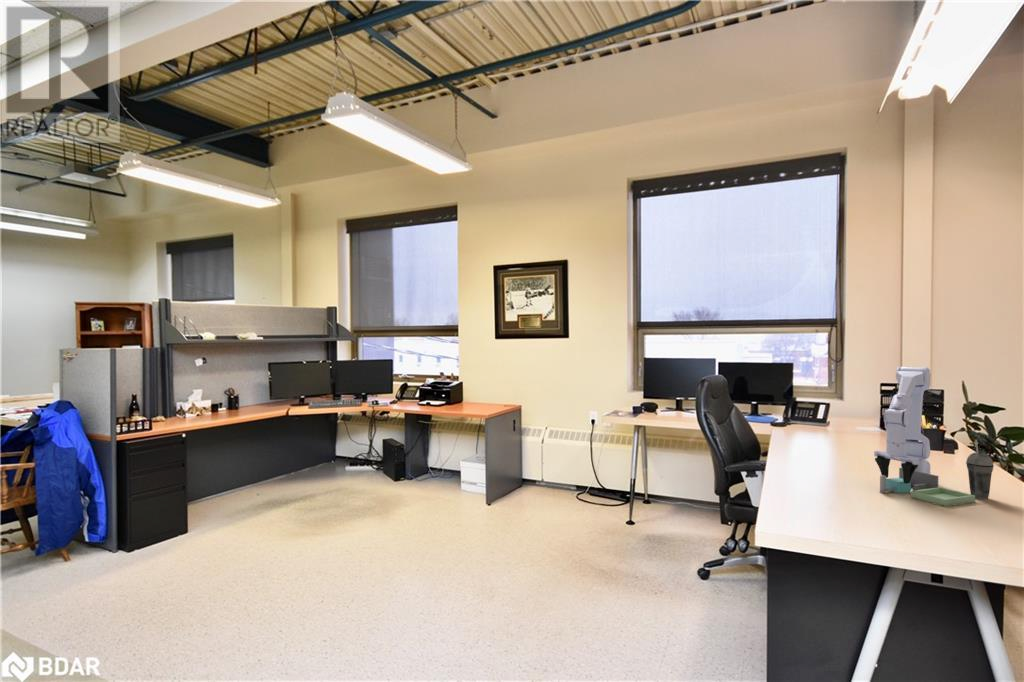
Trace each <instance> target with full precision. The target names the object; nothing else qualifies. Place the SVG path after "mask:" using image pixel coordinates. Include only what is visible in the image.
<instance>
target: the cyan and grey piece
mask: <svg viewBox="0 0 1024 682" xmlns="http://www.w3.org/2000/svg"><path fill="white" fill-rule="evenodd" d="M911 488H912V487H911V481H910V483H904V481H903V479H901V478H899V477H893V478H891V477H890V478H886V476H885V475H881V474H880V475H879V493H880V492H881V493H880V494H887V492H892V491H894V492H893V493H895V492H898V493H897V494H901V493H900V492H907V493H911V492H910V491H912V489H911Z"/></svg>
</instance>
